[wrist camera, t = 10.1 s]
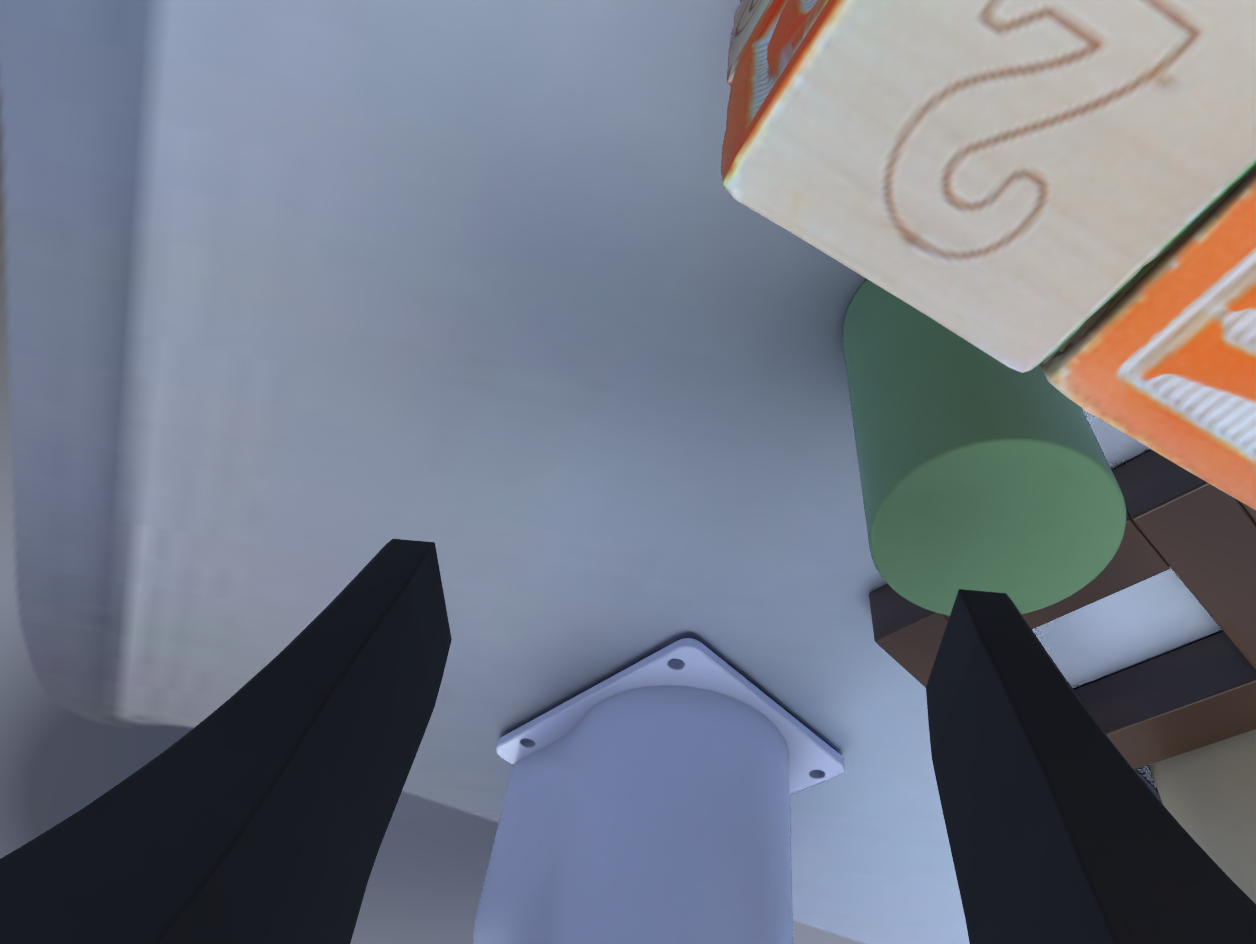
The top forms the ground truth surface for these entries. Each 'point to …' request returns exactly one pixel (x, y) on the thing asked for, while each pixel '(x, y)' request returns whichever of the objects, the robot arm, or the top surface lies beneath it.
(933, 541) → the green peg
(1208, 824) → the cream peg
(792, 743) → the robot arm
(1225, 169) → the stack of blocks
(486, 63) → the top surface
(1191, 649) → the rack
